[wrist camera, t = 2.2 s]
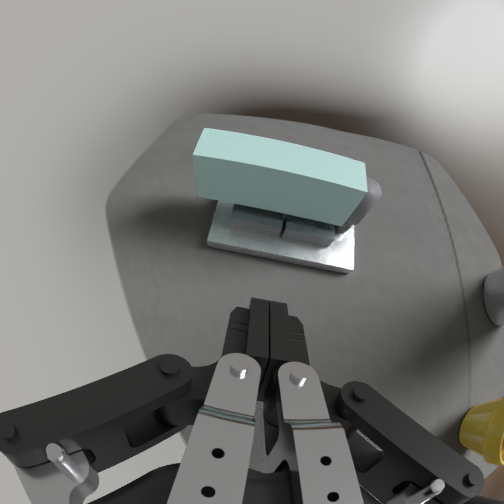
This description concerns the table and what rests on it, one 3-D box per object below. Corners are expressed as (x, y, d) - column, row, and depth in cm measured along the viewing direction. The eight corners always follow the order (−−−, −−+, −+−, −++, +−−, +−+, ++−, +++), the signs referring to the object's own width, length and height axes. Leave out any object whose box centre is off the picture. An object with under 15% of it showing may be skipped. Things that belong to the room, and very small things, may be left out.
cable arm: (360, 204, 29) (385, 170, 23) (361, 231, 27) (389, 199, 22) (206, 170, 28) (204, 127, 23) (197, 196, 27) (192, 154, 21)
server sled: (348, 202, 34) (360, 185, 30) (348, 274, 30) (362, 262, 26) (227, 175, 34) (228, 155, 30) (207, 246, 30) (205, 230, 26)
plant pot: (467, 465, 20) (511, 472, 11) (439, 446, 22) (491, 455, 13) (496, 408, 23) (540, 405, 14) (472, 382, 25) (523, 375, 16)
